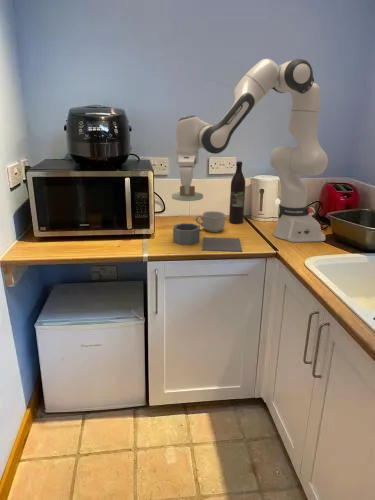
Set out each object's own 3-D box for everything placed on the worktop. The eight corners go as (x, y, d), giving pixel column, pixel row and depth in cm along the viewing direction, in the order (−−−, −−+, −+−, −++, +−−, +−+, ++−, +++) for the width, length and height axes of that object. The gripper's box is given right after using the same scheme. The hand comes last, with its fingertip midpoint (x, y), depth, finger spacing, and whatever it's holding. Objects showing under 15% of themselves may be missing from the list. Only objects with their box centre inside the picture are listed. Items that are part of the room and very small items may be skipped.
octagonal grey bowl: (200, 236, 168) (200, 223, 166) (199, 245, 158) (199, 231, 156) (175, 235, 169) (175, 223, 167) (172, 244, 159) (172, 230, 156)
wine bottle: (226, 222, 191) (229, 161, 180) (234, 219, 196) (237, 160, 185) (238, 224, 187) (241, 163, 176) (245, 222, 192) (249, 161, 181)
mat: (239, 239, 166) (239, 238, 166) (242, 251, 151) (242, 250, 151) (203, 237, 167) (203, 237, 167) (202, 250, 152) (202, 249, 152)
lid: (203, 194, 163) (203, 183, 161) (202, 201, 151) (202, 190, 149) (173, 193, 163) (173, 183, 162) (170, 200, 151) (170, 189, 150)
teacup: (224, 227, 182) (225, 211, 180) (224, 234, 172) (225, 217, 169) (196, 226, 184) (196, 210, 181) (194, 233, 173) (194, 216, 171)
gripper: (181, 155, 161) (181, 187, 166) (177, 162, 142) (177, 198, 147) (196, 155, 161) (196, 187, 166) (194, 162, 142) (193, 198, 147)
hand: (187, 192), depth 156 cm, fingers closed on lid, 2 cm apart
